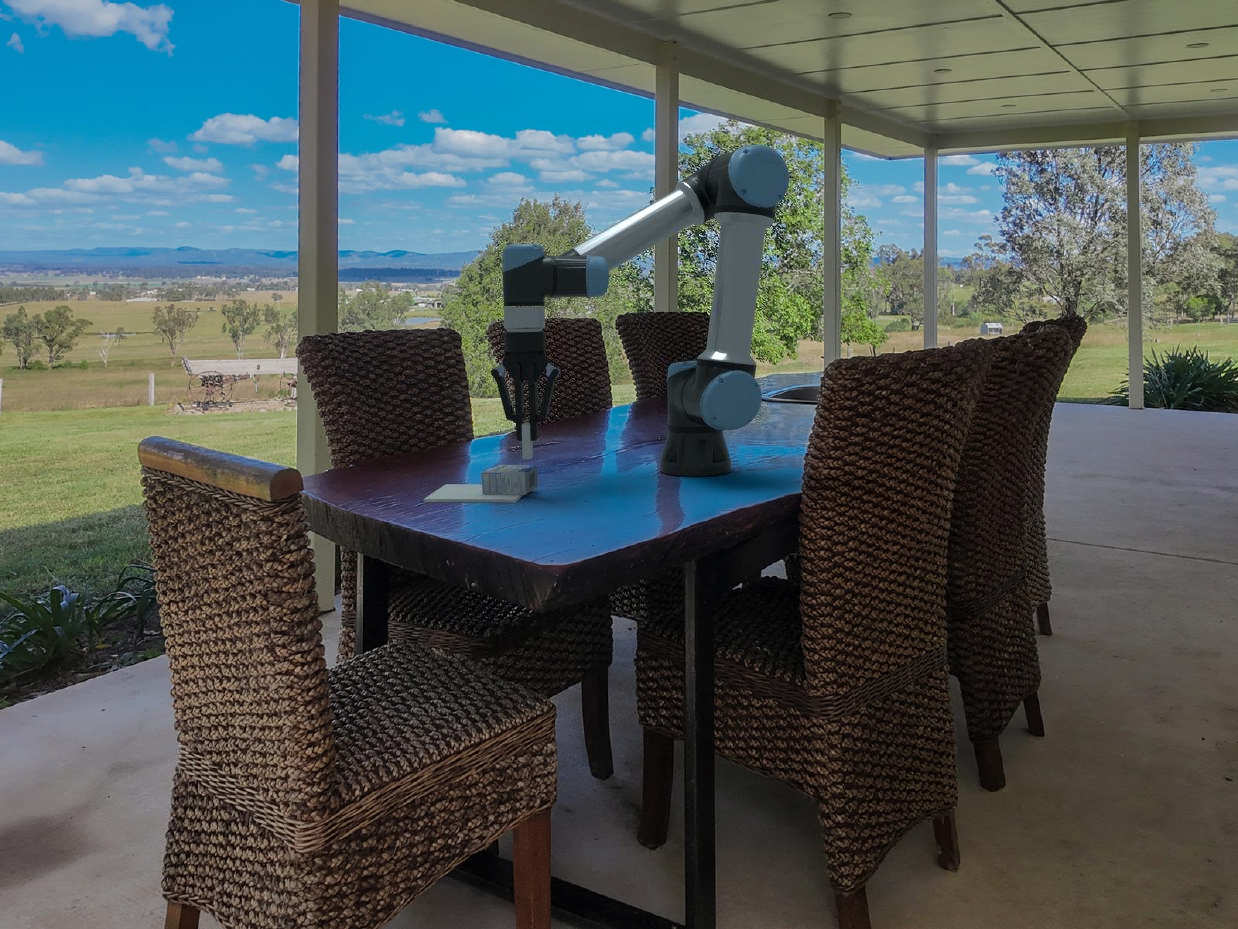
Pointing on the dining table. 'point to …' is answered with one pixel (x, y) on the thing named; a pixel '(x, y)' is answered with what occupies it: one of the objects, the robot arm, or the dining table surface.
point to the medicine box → (509, 479)
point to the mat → (468, 495)
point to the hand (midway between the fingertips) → (527, 457)
